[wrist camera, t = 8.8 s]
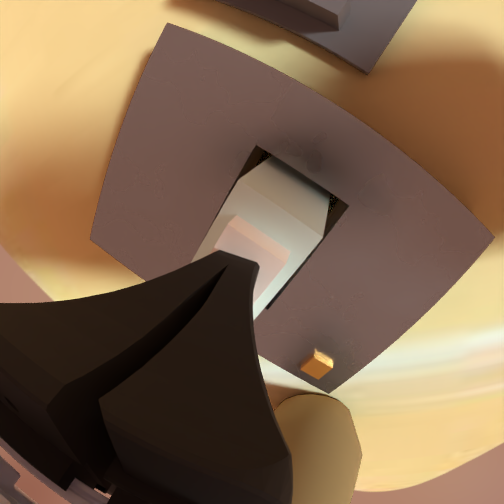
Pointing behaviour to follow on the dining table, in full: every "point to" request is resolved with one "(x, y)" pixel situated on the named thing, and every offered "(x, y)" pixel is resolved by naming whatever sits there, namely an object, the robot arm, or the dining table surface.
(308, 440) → the squeeze bottle
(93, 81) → the dining table surface
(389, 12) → the dark grey holder base
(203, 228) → the port block
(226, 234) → the plug
